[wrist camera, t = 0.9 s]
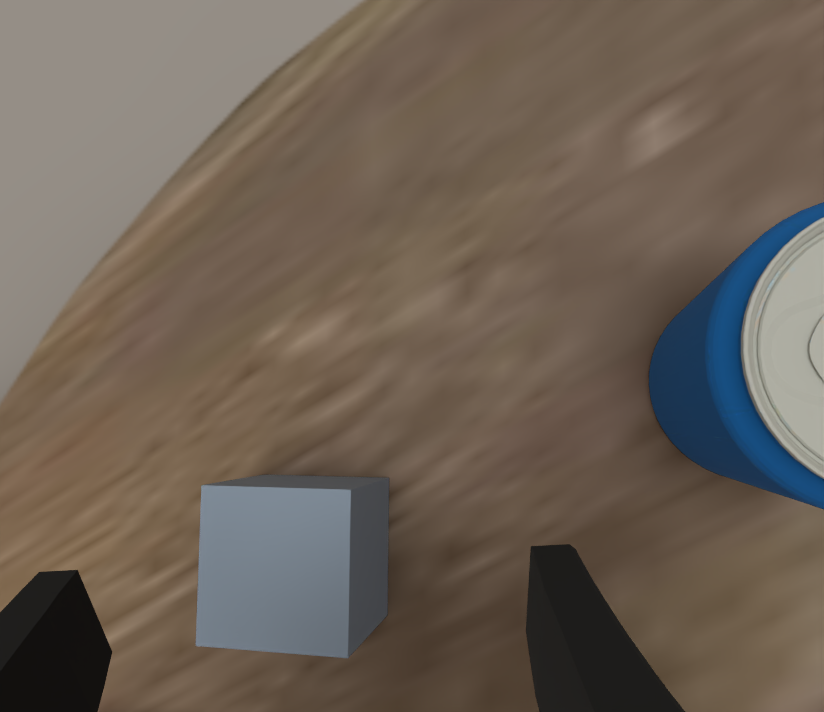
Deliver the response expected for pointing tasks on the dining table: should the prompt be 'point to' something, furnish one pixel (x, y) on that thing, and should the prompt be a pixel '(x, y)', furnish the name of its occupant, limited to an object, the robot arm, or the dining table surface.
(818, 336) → the beverage can
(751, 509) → the dining table surface
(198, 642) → the blue cube
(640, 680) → the robot arm
